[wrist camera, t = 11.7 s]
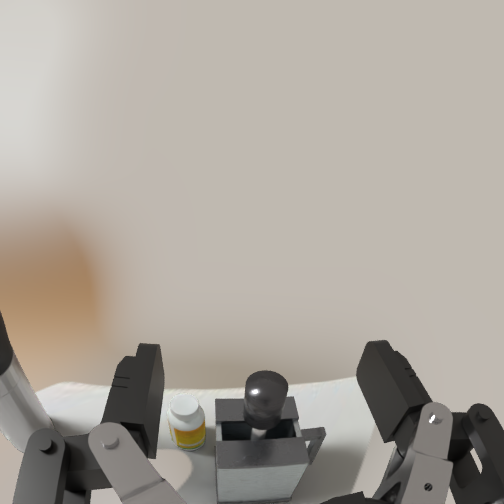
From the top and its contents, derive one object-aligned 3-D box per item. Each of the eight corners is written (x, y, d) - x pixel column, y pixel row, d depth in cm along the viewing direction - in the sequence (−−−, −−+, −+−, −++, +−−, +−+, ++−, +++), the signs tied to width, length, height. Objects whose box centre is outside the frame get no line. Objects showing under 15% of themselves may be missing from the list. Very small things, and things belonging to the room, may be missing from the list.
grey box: (217, 505, 32) (215, 468, 26) (214, 449, 41) (213, 397, 35) (311, 498, 33) (339, 457, 28) (299, 444, 42) (318, 393, 37)
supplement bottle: (165, 435, 42) (156, 400, 38) (190, 419, 46) (186, 383, 42) (187, 457, 39) (181, 425, 35) (213, 439, 42) (212, 404, 38)
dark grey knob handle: (228, 487, 32) (231, 415, 24) (225, 445, 38) (228, 360, 31) (282, 484, 33) (311, 411, 25) (274, 443, 39) (296, 358, 31)
